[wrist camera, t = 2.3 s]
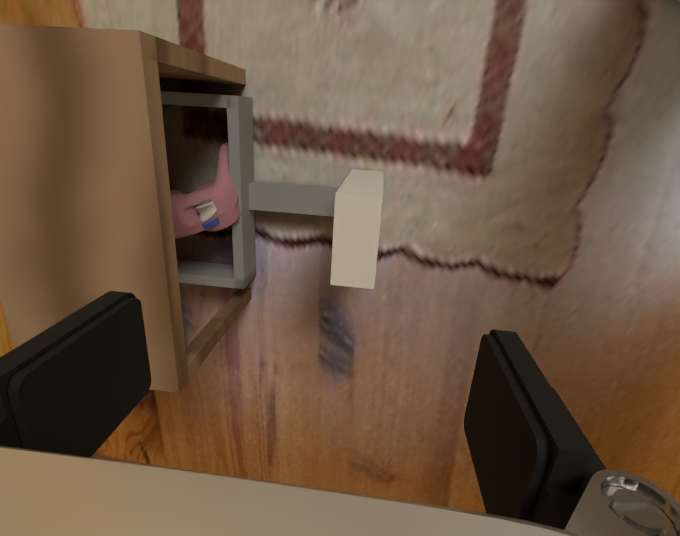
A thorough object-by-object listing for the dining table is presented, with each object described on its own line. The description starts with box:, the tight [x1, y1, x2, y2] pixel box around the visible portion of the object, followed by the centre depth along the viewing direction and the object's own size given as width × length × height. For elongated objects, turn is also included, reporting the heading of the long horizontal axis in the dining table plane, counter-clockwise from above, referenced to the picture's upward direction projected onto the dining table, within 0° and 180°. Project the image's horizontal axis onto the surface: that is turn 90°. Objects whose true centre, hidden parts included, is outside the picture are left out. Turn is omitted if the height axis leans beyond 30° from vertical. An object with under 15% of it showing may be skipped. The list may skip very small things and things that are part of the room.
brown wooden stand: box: [0, 24, 251, 393], centre depth 26 cm, size 10×18×13 cm, turn 176°
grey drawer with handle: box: [160, 91, 384, 289], centre depth 26 cm, size 20×14×11 cm
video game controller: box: [170, 143, 241, 239], centre depth 30 cm, size 10×5×7 cm, turn 101°
